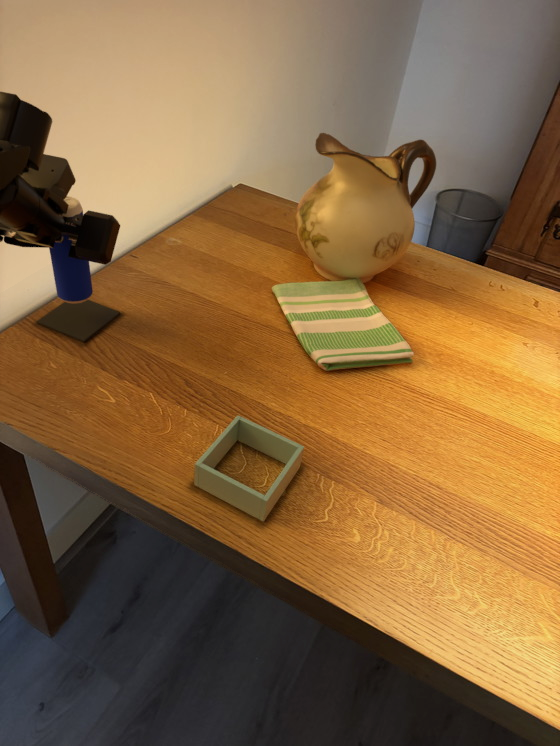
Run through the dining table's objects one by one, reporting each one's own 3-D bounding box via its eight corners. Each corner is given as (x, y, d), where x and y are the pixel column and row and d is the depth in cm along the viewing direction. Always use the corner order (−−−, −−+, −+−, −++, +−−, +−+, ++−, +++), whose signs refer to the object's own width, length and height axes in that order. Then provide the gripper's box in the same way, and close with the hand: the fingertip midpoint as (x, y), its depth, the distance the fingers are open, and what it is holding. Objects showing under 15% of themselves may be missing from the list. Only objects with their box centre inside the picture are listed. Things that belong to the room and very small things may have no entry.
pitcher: (271, 276, 104) (287, 142, 87) (313, 230, 121) (333, 110, 104) (383, 313, 99) (423, 177, 82) (410, 259, 116) (448, 137, 100)
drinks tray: (263, 522, 63) (266, 501, 60) (194, 485, 65) (194, 463, 63) (300, 467, 69) (304, 446, 67) (235, 435, 72) (237, 414, 70)
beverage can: (82, 283, 87) (69, 192, 77) (99, 298, 84) (89, 205, 75) (51, 293, 84) (34, 199, 74) (68, 308, 81) (53, 213, 72)
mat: (84, 342, 83) (83, 340, 83) (36, 323, 85) (36, 321, 85) (120, 313, 89) (120, 311, 89) (75, 296, 91) (75, 294, 91)
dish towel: (359, 286, 105) (362, 274, 103) (415, 364, 88) (420, 351, 87) (270, 292, 99) (272, 279, 98) (313, 376, 83) (315, 362, 81)
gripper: (107, 155, 65) (147, 208, 80) (-38, 126, 66) (29, 184, 82) (83, 244, 64) (128, 280, 79) (-64, 213, 65) (9, 254, 81)
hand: (73, 247), depth 80 cm, fingers closed on beverage can, 5 cm apart
